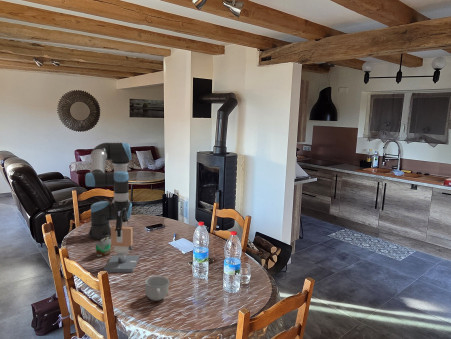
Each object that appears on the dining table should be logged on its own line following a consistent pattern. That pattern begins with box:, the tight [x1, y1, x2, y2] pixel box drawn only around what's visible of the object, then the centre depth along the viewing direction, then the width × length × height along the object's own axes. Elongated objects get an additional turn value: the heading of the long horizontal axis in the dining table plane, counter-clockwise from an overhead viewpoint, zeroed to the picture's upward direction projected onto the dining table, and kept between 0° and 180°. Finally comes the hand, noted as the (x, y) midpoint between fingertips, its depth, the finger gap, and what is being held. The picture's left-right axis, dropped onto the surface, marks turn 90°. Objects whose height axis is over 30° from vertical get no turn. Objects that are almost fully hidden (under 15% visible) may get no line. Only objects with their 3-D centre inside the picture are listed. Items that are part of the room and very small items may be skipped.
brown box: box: [110, 225, 134, 254], centre depth 175 cm, size 11×8×13 cm
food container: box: [94, 235, 111, 258], centre depth 189 cm, size 12×6×10 cm, turn 168°
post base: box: [103, 252, 140, 273], centre depth 176 cm, size 17×15×8 cm
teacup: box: [144, 275, 170, 301], centre depth 145 cm, size 14×11×8 cm
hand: (121, 237), depth 175 cm, fingers open, 13 cm apart
